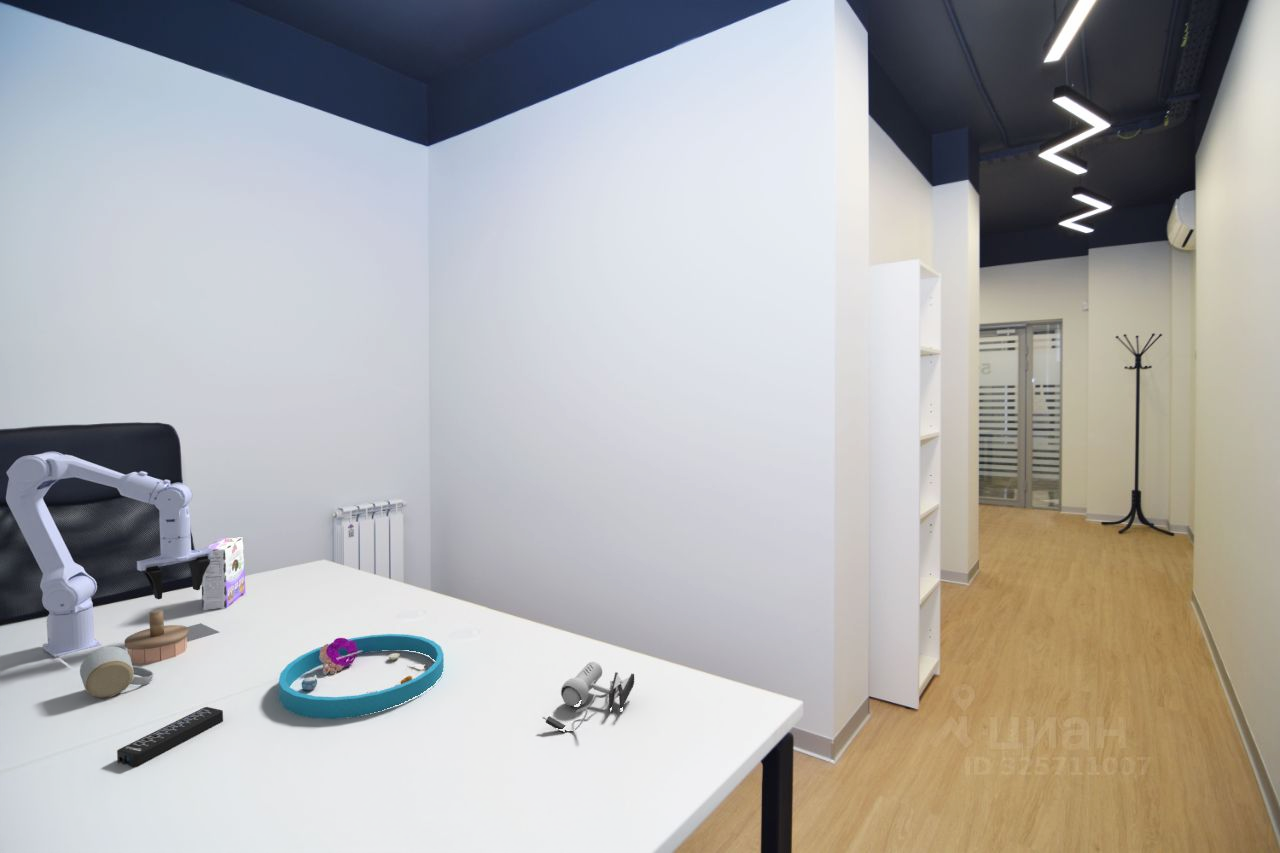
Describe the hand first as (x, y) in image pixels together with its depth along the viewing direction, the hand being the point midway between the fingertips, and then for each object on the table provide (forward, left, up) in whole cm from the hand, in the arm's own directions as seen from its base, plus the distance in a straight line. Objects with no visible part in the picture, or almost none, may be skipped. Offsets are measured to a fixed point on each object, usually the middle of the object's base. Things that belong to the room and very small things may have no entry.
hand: (177, 593), depth 147 cm
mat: (+1, +1, -10) cm, 10 cm away
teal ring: (+56, +11, -11) cm, 58 cm away
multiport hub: (+49, -19, -11) cm, 54 cm away
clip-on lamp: (+101, +26, -11) cm, 105 cm away
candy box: (-17, +17, -10) cm, 26 cm away
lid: (+8, -7, -7) cm, 12 cm away
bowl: (+8, -7, -10) cm, 15 cm away
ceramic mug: (+19, -18, -10) cm, 28 cm away
